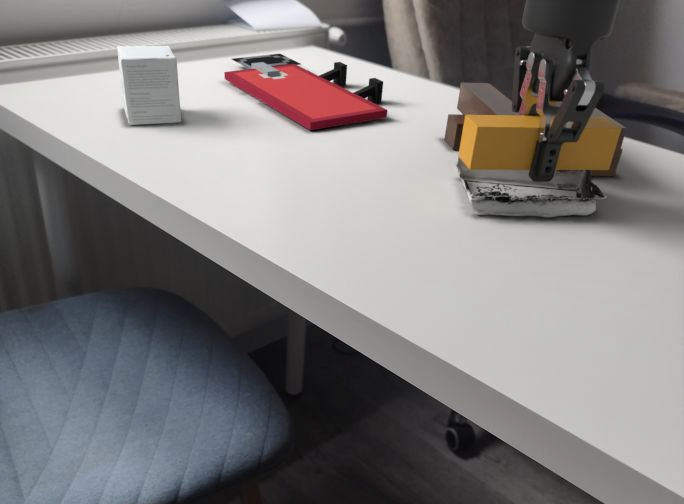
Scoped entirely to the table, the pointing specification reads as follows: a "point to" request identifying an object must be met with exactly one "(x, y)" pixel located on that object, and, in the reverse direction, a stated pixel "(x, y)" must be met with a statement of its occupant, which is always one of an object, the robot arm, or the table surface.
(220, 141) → the table surface
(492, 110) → the stacked wooden blocks
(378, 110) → the red board with handle
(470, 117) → the ochre bar
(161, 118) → the product box
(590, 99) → the robot arm
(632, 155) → the table surface
